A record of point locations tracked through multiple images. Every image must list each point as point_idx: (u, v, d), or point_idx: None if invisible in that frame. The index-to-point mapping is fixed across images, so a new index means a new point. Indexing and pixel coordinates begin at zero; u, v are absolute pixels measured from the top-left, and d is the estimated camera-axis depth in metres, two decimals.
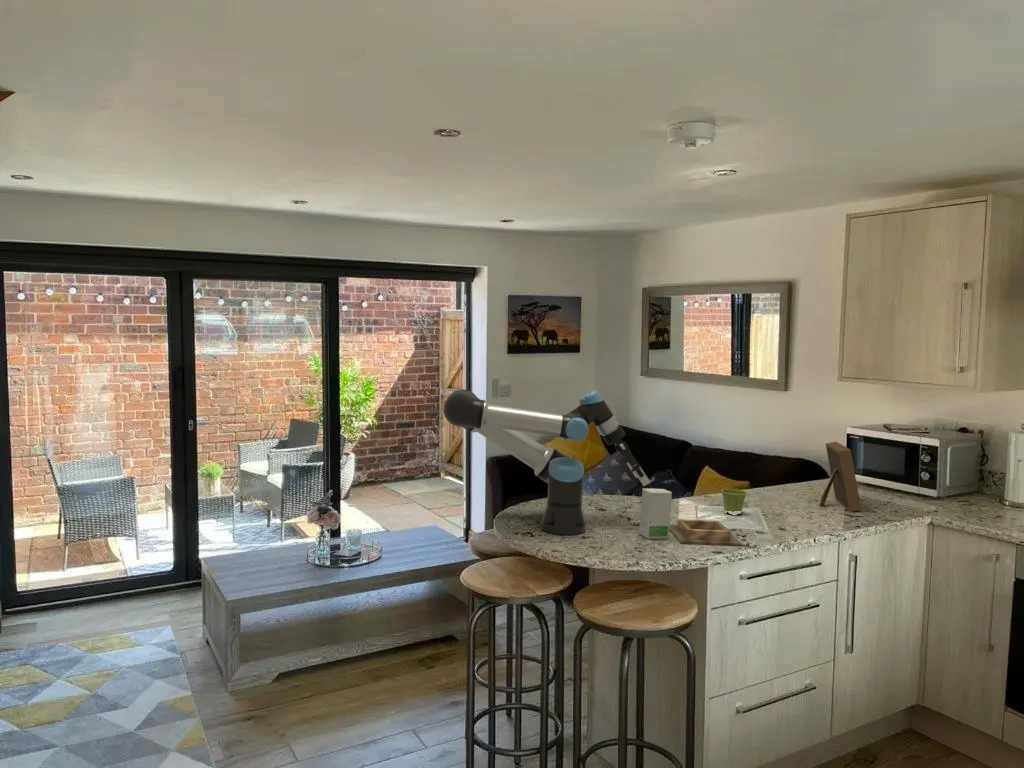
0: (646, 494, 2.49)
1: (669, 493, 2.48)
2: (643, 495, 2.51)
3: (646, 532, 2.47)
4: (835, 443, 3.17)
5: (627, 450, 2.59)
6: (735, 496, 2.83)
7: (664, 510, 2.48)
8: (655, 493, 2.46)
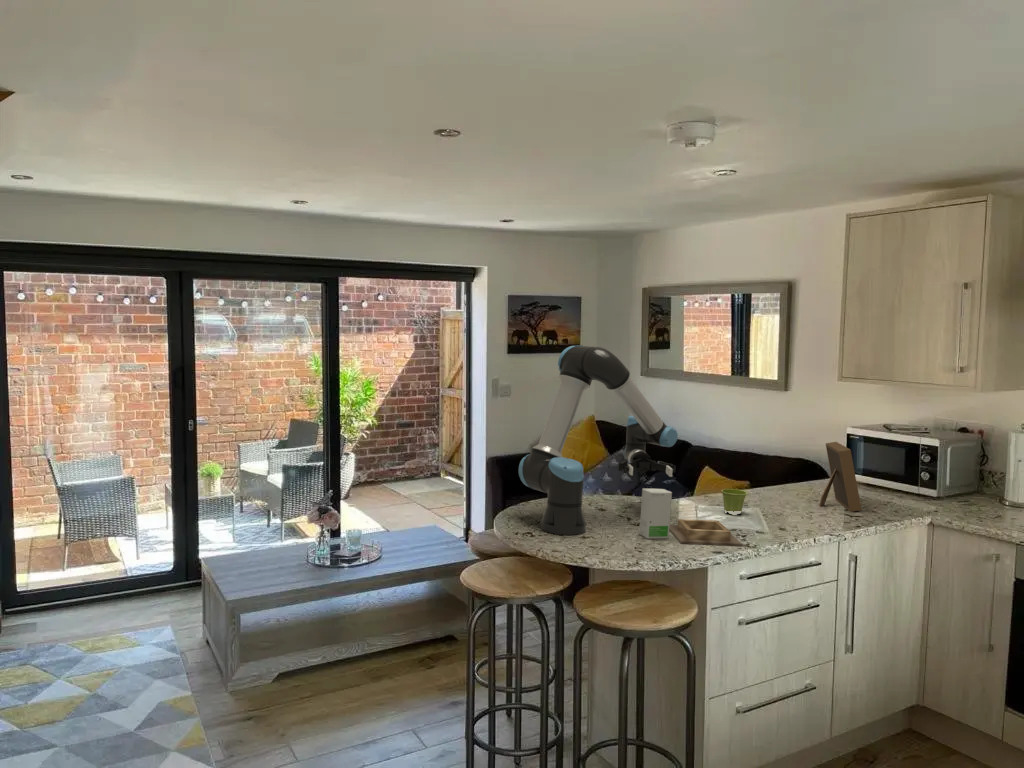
0: (646, 494, 2.49)
1: (669, 493, 2.48)
2: (643, 495, 2.51)
3: (646, 532, 2.47)
4: (835, 443, 3.17)
5: None
6: (735, 496, 2.83)
7: (664, 510, 2.48)
8: (655, 493, 2.46)
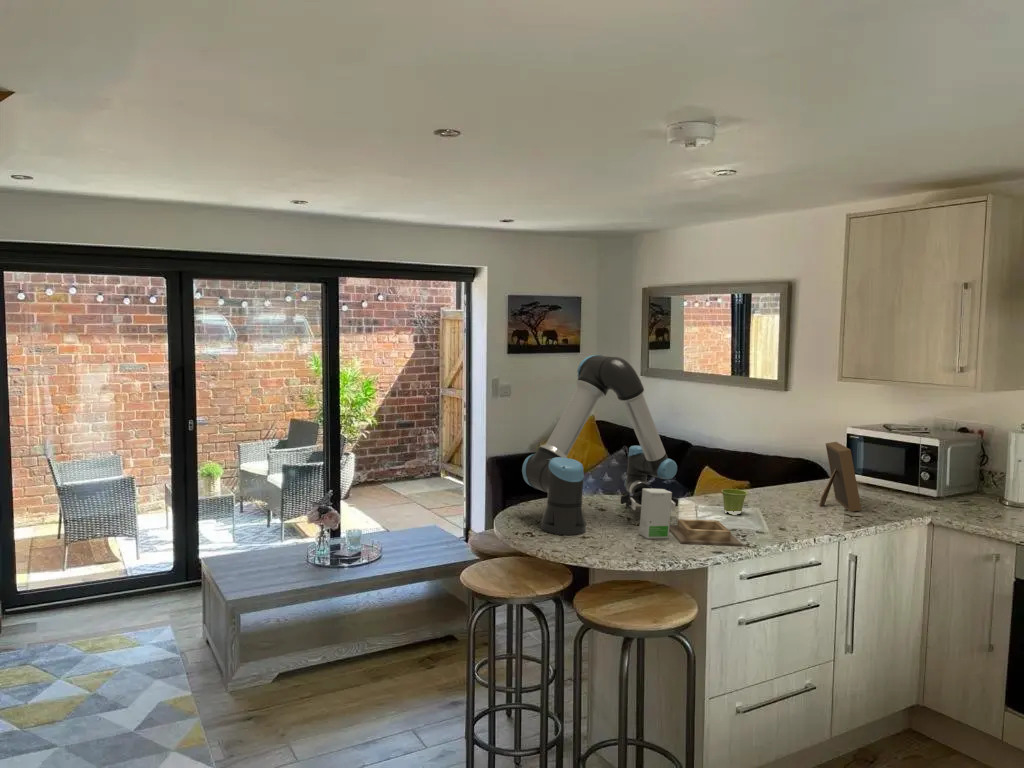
0: (646, 494, 2.49)
1: (669, 493, 2.48)
2: (643, 495, 2.51)
3: (646, 532, 2.47)
4: (835, 443, 3.17)
5: None
6: (735, 496, 2.83)
7: (664, 510, 2.48)
8: (655, 493, 2.46)
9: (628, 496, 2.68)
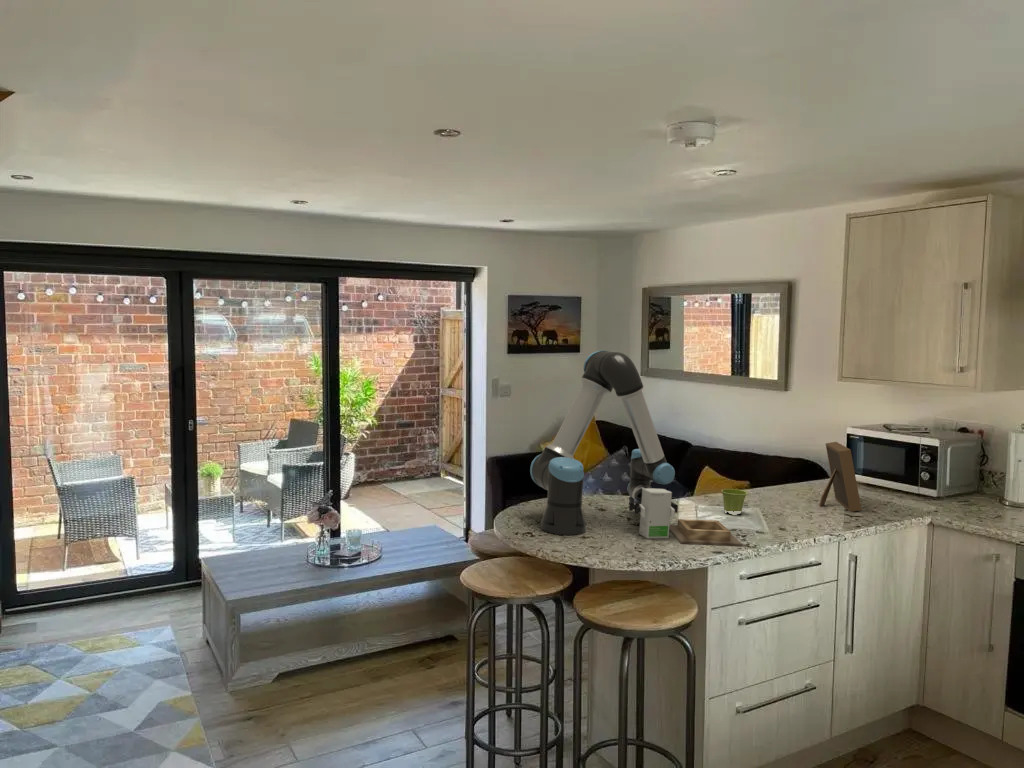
0: (646, 494, 2.49)
1: (669, 493, 2.48)
2: (643, 495, 2.51)
3: (646, 532, 2.47)
4: (835, 443, 3.17)
5: None
6: (735, 496, 2.83)
7: (664, 510, 2.48)
8: (655, 493, 2.46)
9: None
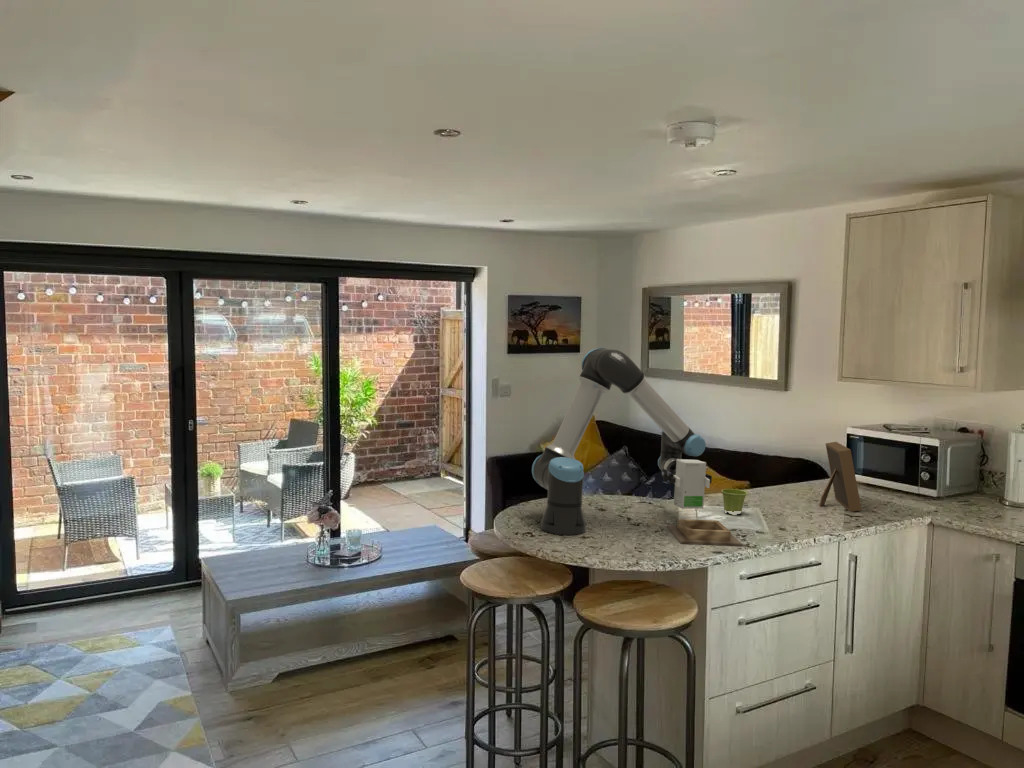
0: (680, 465, 2.50)
1: (703, 463, 2.49)
2: (677, 466, 2.52)
3: (681, 502, 2.49)
4: (835, 443, 3.17)
5: None
6: (735, 496, 2.83)
7: (699, 480, 2.49)
8: (690, 463, 2.48)
9: None
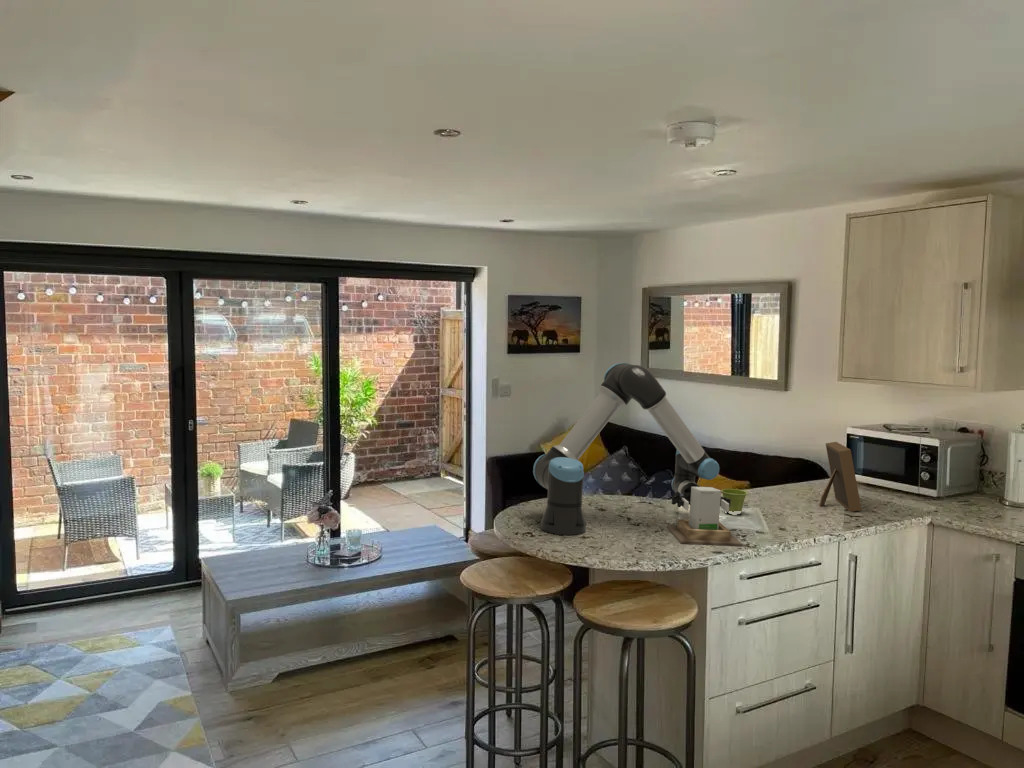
0: (695, 492, 2.51)
1: (718, 491, 2.50)
2: (692, 493, 2.53)
3: None
4: (835, 443, 3.17)
5: None
6: (735, 496, 2.83)
7: (714, 508, 2.50)
8: (705, 491, 2.49)
9: (679, 496, 2.62)
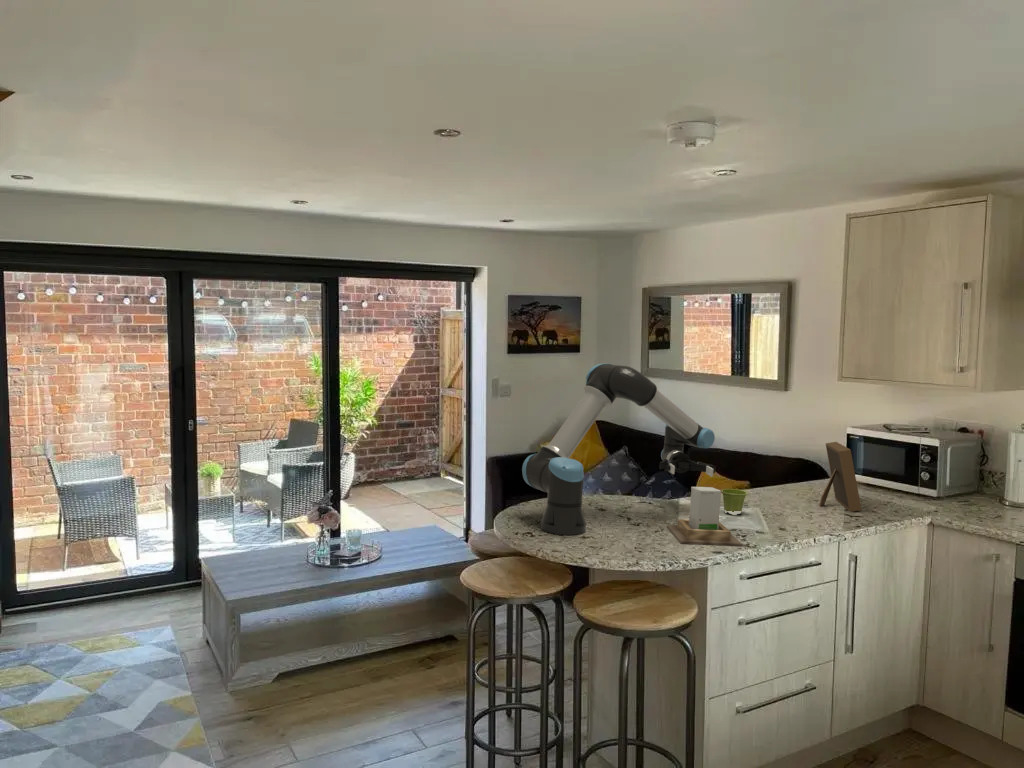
0: (695, 493, 2.51)
1: (718, 491, 2.50)
2: (692, 493, 2.53)
3: None
4: (835, 443, 3.17)
5: None
6: (735, 496, 2.83)
7: (714, 508, 2.50)
8: (705, 491, 2.49)
9: (666, 463, 2.77)
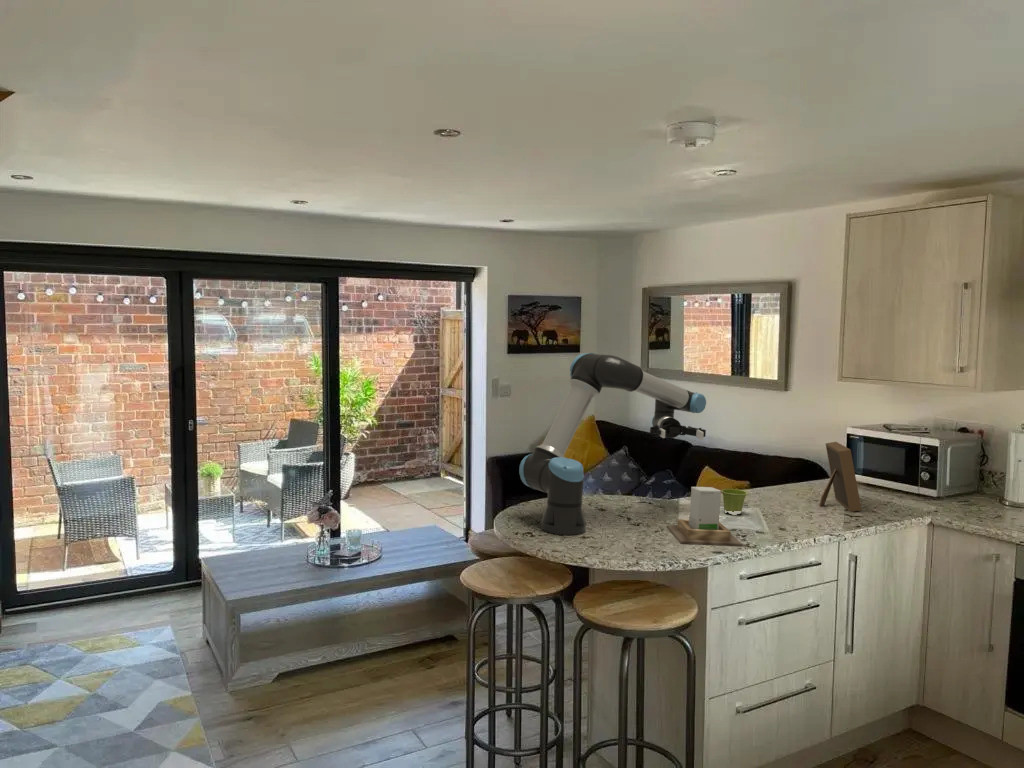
0: (695, 493, 2.51)
1: (718, 491, 2.50)
2: (692, 493, 2.53)
3: None
4: (835, 443, 3.17)
5: None
6: (735, 496, 2.83)
7: (714, 508, 2.50)
8: (705, 491, 2.49)
9: None
